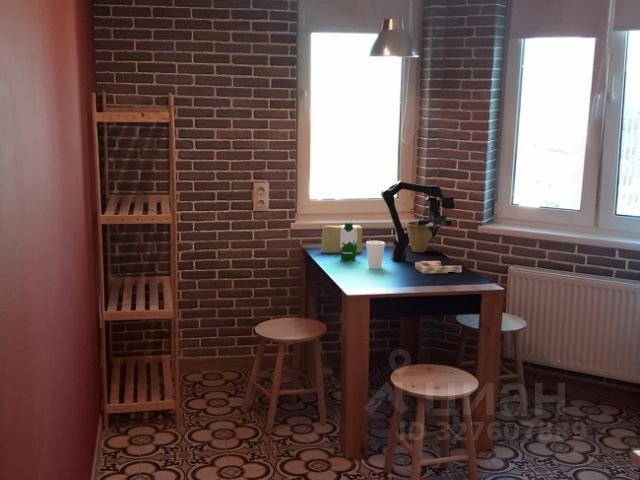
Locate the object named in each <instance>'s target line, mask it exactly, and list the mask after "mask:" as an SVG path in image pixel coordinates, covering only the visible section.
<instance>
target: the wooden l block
mask: <svg viewBox="0 0 640 480" xmlns="http://www.w3.org/2000/svg"><path fill="white" fill-rule="evenodd" d="M414 269H416V270H418V272H420V273H422V274H423V275H424V274H447V273H448V272H455V273H462V271H463V270H462V269H463V267H462V265H441V266H430V267H426V266H424V265H423V264H421V263H420V261H416V262H415V263H414ZM448 274H449V273H448Z"/></svg>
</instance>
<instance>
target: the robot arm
mask: <svg viewBox="0 0 640 480" xmlns="http://www.w3.org/2000/svg"><path fill="white" fill-rule="evenodd" d="M402 190H405V191H412V192H418V193H422V194H425V195H427V197H426V198H425V199H424V200H425V201H426V202H428V210H427V213H428V218H427V220H425V219H424V218H417V219H415V220H414V221H415V224H416V225H418V226H424V225H425V224H427V225H426V226H427V227H428V229H429V231H430V233H431V239H435V238H436V234H437V232H438V231H439V229H440V228H442V225H445V226H453V221H452V219H449V218H447V216H446V215H441V208H442V210H455V207H456V205H455V204H456V203H455V198H454V196H452V195H451V196H445V195H444V194H443V193H442V189H441V187H439V186H438V185H436V184H424V185H423V184H419V183H418V184H417V183H413V182H407V181H406V182H405V181H403V180H398V181H397V182H396V183H394V184H393V185H391V186H389V187H388V188H387V187H386V188H384V189H382V190H381V192H380V194H381V195H380V196H381V197H382V199H383V201H384V202H385V204H386V206H387V209H388V212H389V215H390V219H391V220H392V225H393V228H394V229H395V231H394V232H395V239H396V240H395V241H393V243H391V244H392V247H393V248H391V249H392V252H391V254H392V255H391V258H390V260H392V261H393V262H407V260H406V259H407V252H406V247H408V246H409V244H410V241H409V240H410V239H409V237H408V231H407V229H406V230H405V229H404V228H403V226H402V223H401V219H400V217H399V214H398V211H397V207H396V204H395V195H397V194H398V193H399V192H400V191H402Z"/></svg>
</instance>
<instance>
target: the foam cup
mask: <svg viewBox="0 0 640 480" xmlns="http://www.w3.org/2000/svg"><path fill="white" fill-rule="evenodd" d="M365 247H366V255H367V264H368V268H369V269H372V270H373V269H374V270H376V269H377V270H378V269H381V268H382V264H383V259H384V251H385V247H386V242H385V241H381V240H367V241H366V242H365Z"/></svg>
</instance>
